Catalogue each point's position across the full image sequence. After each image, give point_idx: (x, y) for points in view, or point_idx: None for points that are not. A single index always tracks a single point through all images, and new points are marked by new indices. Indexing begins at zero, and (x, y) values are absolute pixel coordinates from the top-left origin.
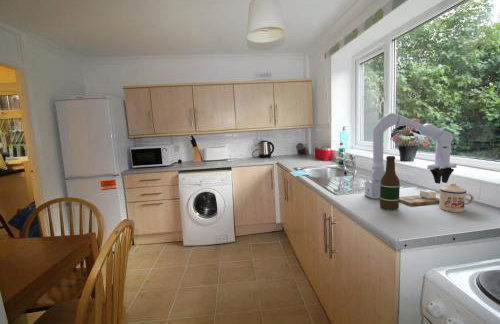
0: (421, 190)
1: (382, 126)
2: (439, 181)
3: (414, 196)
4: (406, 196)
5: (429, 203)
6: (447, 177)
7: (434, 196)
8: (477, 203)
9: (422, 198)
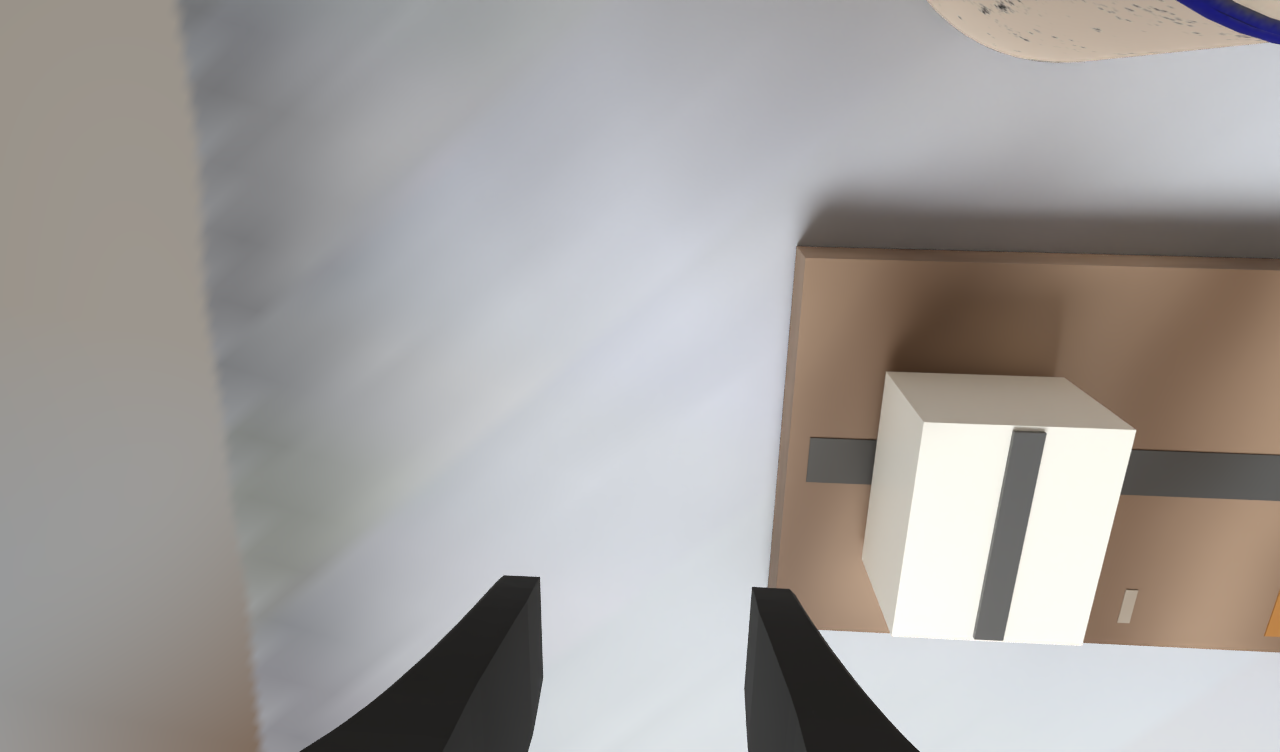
0: (1088, 614)
1: None
2: (803, 617)
3: None
4: (1217, 642)
5: (1135, 257)
6: (485, 674)
7: (924, 385)
8: (251, 19)
9: None
